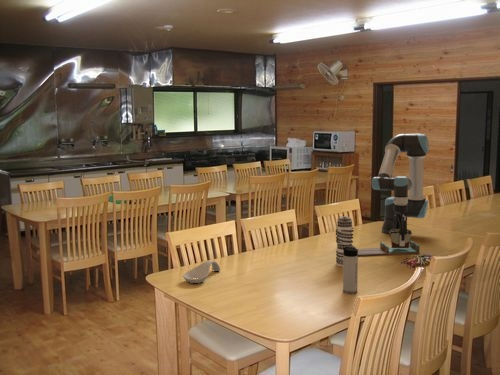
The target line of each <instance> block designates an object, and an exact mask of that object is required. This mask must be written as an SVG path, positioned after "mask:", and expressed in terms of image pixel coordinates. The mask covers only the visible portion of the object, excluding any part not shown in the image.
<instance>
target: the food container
mask: <svg viewBox="0 0 500 375" xmlns="http://www.w3.org/2000/svg"><path fill="white" fill-rule="evenodd" d="M399 234H401V233H400V229H391V230H390V233H389V234H388V235H390V243H391V244H390V245H391V246H390V247H392V248H409V246H410V240H411V237H412V235H413V232H412V230H410V229H408V228H407V234H406V235H405V246H400V235H399Z"/></svg>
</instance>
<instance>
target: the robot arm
mask: <svg viewBox="0 0 500 375" xmlns="http://www.w3.org/2000/svg"><path fill="white" fill-rule="evenodd" d="M384 152H385V153H384V155H383V156H384V157H383V159H382V161H381V165H380V169H379V172H378V175H377V176H373V177H372V178H371V179H372V180H371V187H372V189H373V190H374V191H375V190H376V191H392V192H393V196H390V197H387V198H385V201H384V221H383V223H382V226H381V232H382V233H384V234H388V235H390V234H389V233H390V230H391V229H400V233H401V234H399V235H400V246H405V235H406V234H407V229H408V218H415V219H424V218H425V217H426V215H427V211H428V207H429V200H427V199H426V195H424V158H425V157H426V156H427V154H428V153H429V152H430V144H429V138H428V135H426V134H425V133H424V134H423V133H400V134H397V135H395V136H393V137H392V138H390V139H389V141H387V143H386V145H385V148H384ZM401 153H406V157H407V158H408V170H409V171H408V177H407V176H404V175H403V176H402V175H398V176H395V177H392V176H393V173H394V168H395V164H396V162H397V159H398V156H400V154H401Z"/></svg>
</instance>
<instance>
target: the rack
mask: <svg viewBox="0 0 500 375" xmlns="http://www.w3.org/2000/svg"><path fill="white" fill-rule="evenodd" d="M379 244H380V245H379V246H380V247H366V248H357V247H356V246H354V244H352V248H356V249H357V250H358V257H373V256H374V257H377V256H378V257H379V256H396V255H397V256H398V255H419V254H420V247H421V246H420V245H419V244H418V243H416V242H415V241H413V240H411V239H410V244H409V248H392V246H389V245H387V244H385V242H383V241H379Z"/></svg>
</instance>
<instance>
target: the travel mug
mask: <svg viewBox="0 0 500 375" xmlns="http://www.w3.org/2000/svg"><path fill="white" fill-rule="evenodd" d="M356 248H357V247H356ZM356 248H352V247H343V267H342V292H343V293H344V294H348V293H349V294H348V295H354V294H357V293H358V277H359V274H358V270H359V268H358V264H359V256H358V250H357V249H358V248H357V249H356ZM353 293H354V294H353Z"/></svg>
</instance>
